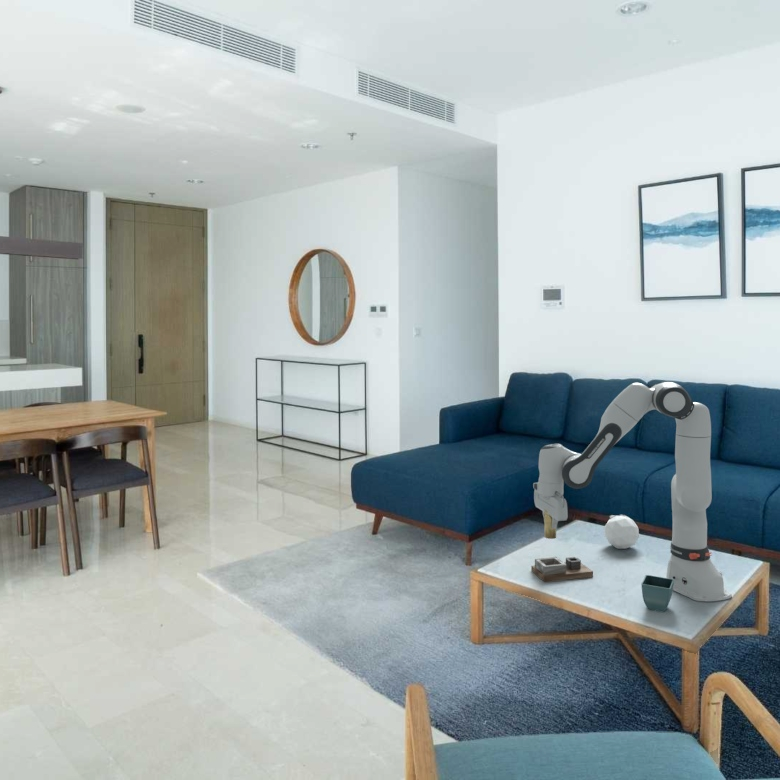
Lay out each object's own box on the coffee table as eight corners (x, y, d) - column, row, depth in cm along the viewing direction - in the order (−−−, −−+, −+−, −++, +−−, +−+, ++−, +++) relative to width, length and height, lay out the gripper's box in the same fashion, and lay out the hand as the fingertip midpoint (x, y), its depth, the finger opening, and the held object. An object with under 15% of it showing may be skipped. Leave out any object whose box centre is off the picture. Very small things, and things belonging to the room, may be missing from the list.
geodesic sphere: (592, 536, 277) (615, 511, 272) (596, 526, 289) (617, 502, 285) (622, 560, 273) (645, 536, 269) (625, 549, 286) (646, 525, 281)
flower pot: (670, 616, 216) (670, 588, 215) (640, 610, 220) (641, 583, 219) (673, 605, 224) (674, 579, 223) (645, 600, 228) (645, 574, 227)
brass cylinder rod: (558, 538, 248) (558, 511, 247) (547, 539, 248) (547, 512, 246) (553, 534, 253) (553, 508, 251) (542, 535, 252) (542, 508, 251)
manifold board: (592, 576, 249) (593, 563, 249) (544, 582, 245) (544, 568, 245) (578, 566, 260) (578, 553, 259) (531, 571, 256) (531, 558, 255)
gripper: (572, 495, 239) (572, 533, 240) (546, 481, 259) (546, 517, 260) (555, 496, 237) (555, 535, 239) (531, 482, 257) (530, 518, 259)
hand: (550, 525), depth 250 cm, fingers closed on brass cylinder rod, 4 cm apart
